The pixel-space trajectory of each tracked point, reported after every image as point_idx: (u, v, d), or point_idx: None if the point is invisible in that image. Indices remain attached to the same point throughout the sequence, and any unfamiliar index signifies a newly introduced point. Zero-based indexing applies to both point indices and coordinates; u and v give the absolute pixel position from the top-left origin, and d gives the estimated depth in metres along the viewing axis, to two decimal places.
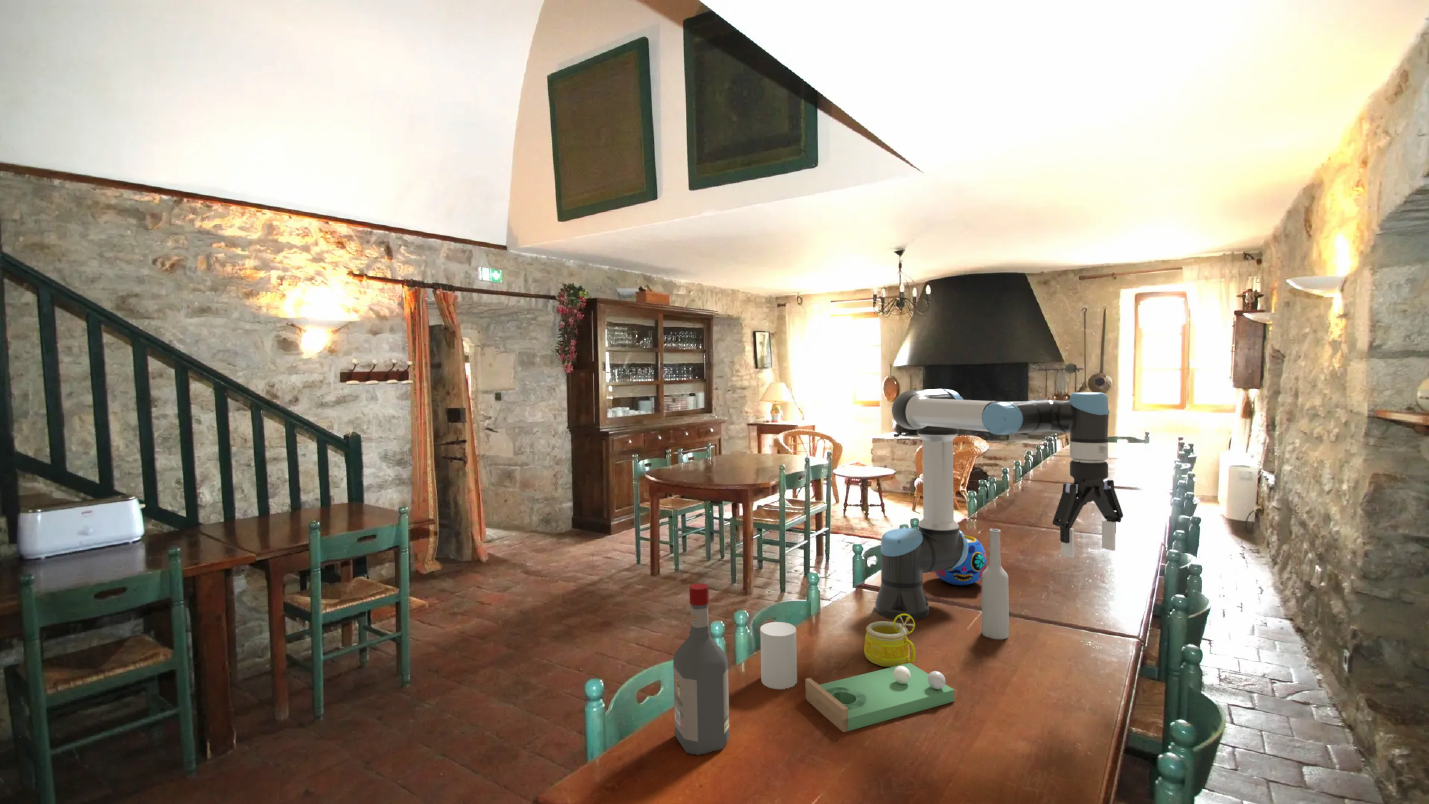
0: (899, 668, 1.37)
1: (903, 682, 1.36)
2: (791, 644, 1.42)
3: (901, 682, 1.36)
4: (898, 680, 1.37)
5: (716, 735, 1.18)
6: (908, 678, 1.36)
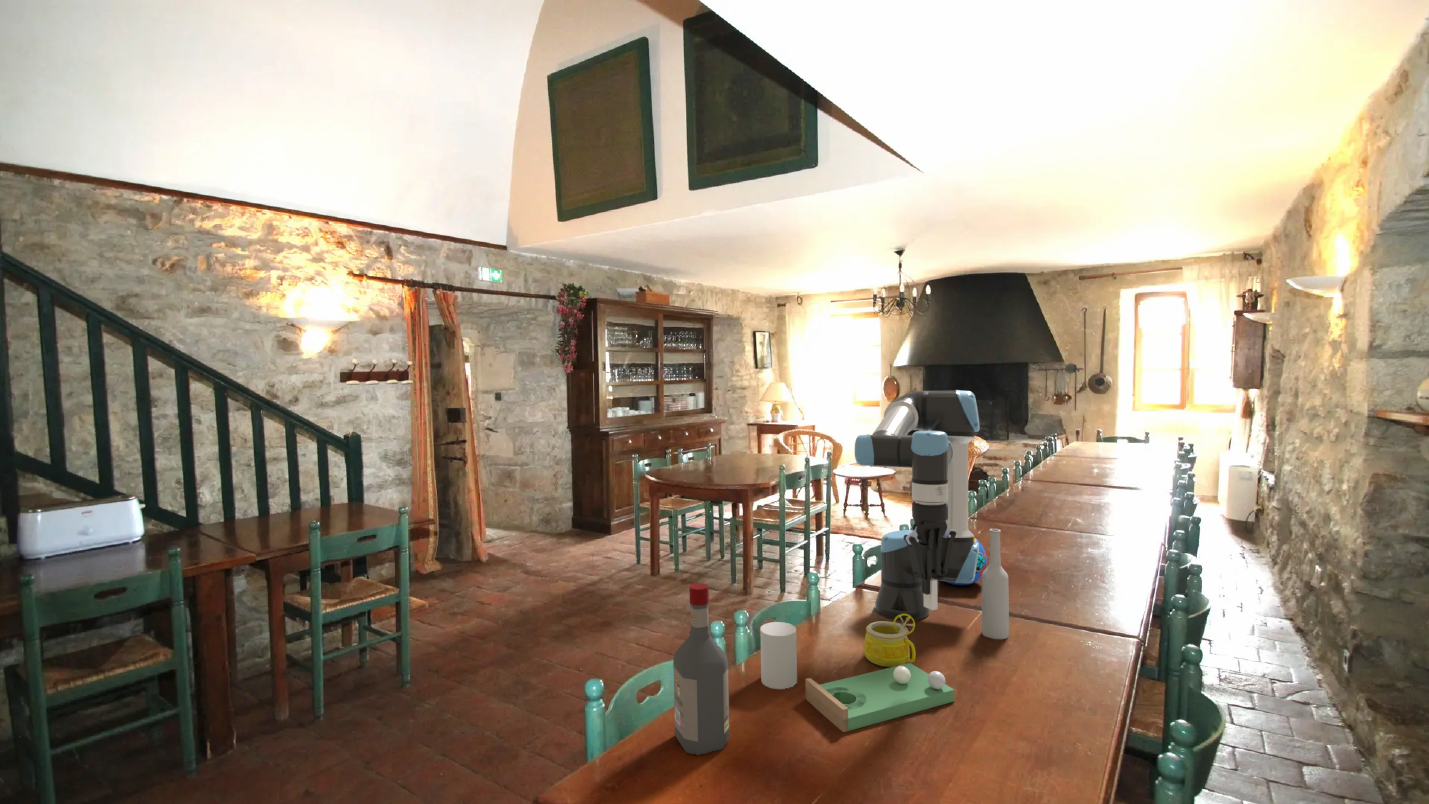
0: (899, 668, 1.37)
1: (903, 682, 1.36)
2: (791, 644, 1.42)
3: (901, 682, 1.36)
4: (898, 680, 1.37)
5: (716, 735, 1.18)
6: (908, 678, 1.36)
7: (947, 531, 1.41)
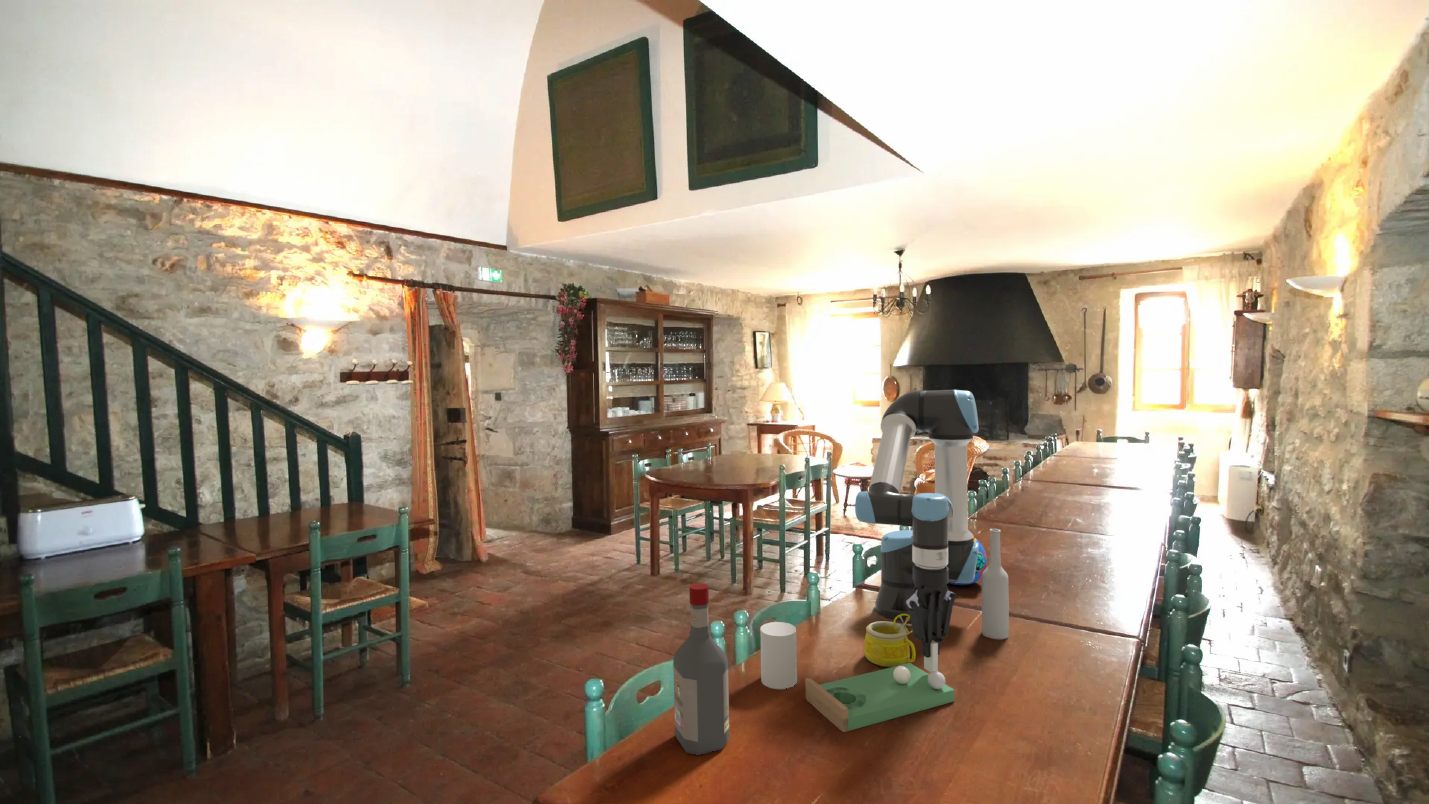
0: (899, 668, 1.37)
1: (903, 682, 1.36)
2: (791, 644, 1.42)
3: (901, 682, 1.36)
4: (898, 680, 1.37)
5: (716, 735, 1.18)
6: (908, 678, 1.36)
7: (947, 593, 1.42)
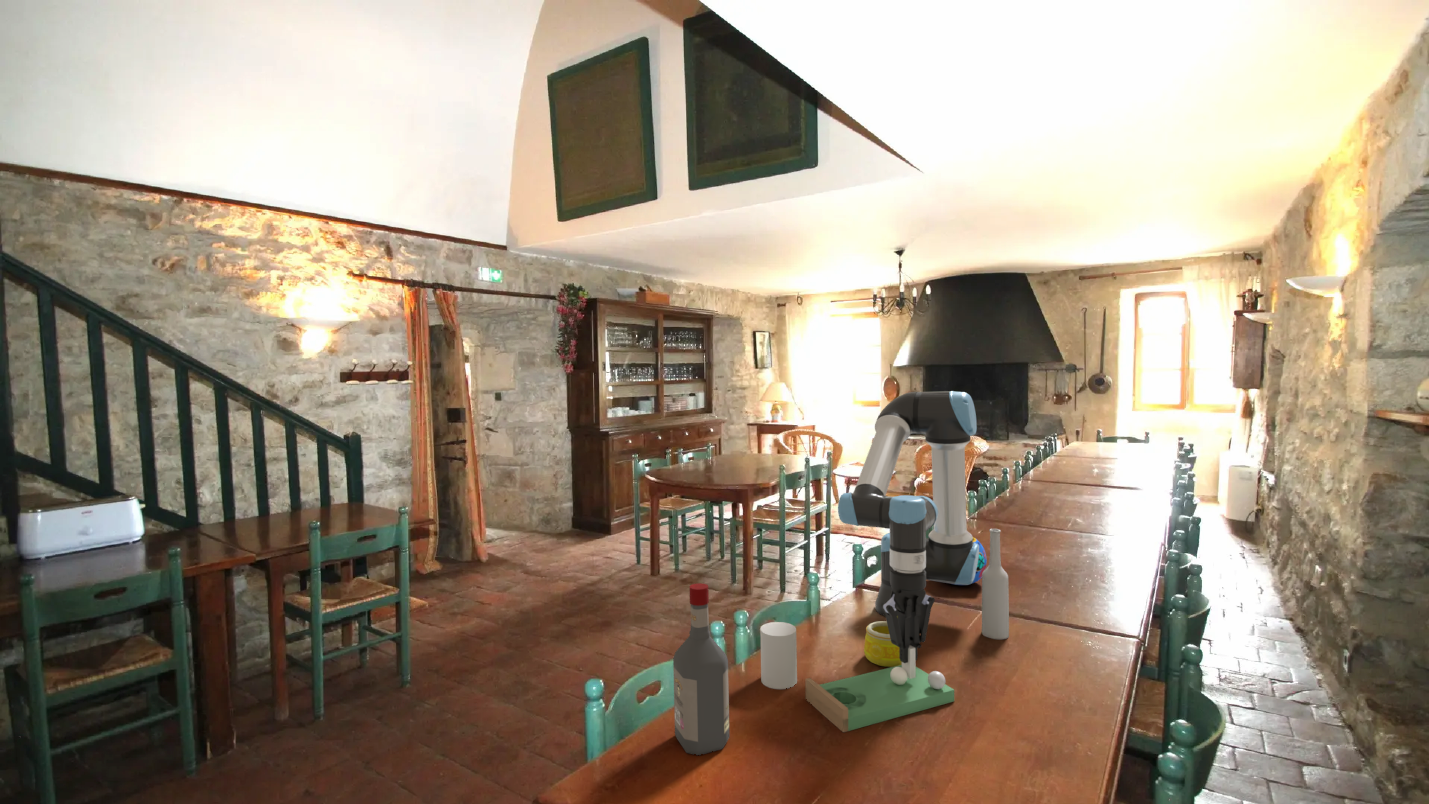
0: (894, 671, 1.37)
1: (902, 683, 1.36)
2: (791, 644, 1.42)
3: (900, 684, 1.36)
4: (896, 683, 1.36)
5: (716, 735, 1.18)
6: (905, 678, 1.36)
7: (925, 597, 1.39)
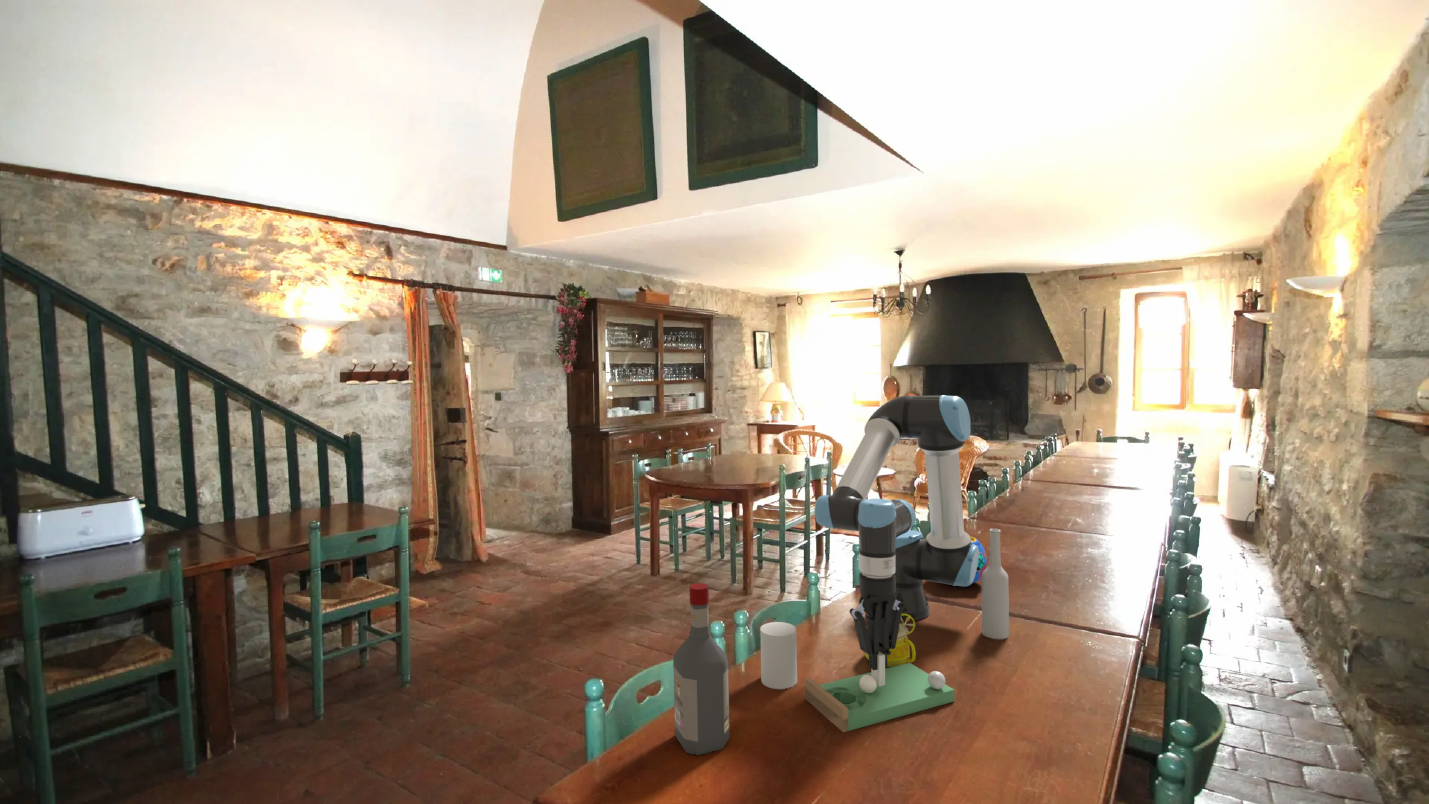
0: (873, 677, 1.34)
1: (867, 685, 1.32)
2: (791, 644, 1.42)
3: (866, 684, 1.33)
4: (866, 680, 1.33)
5: (716, 735, 1.18)
6: (873, 688, 1.32)
7: (896, 603, 1.36)
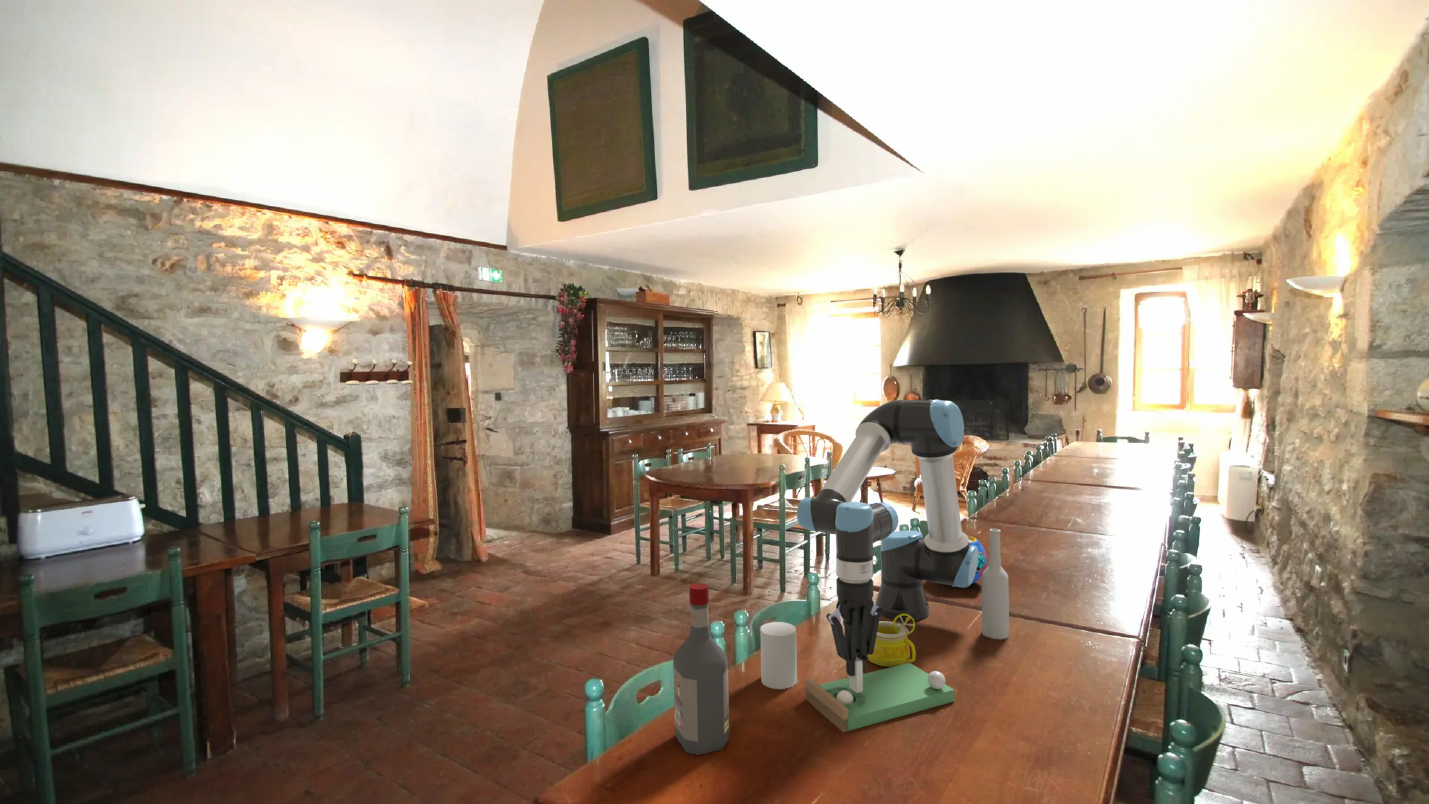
0: None
1: (853, 698, 1.32)
2: (791, 644, 1.42)
3: None
4: None
5: (716, 735, 1.18)
6: (850, 696, 1.32)
7: (874, 608, 1.34)
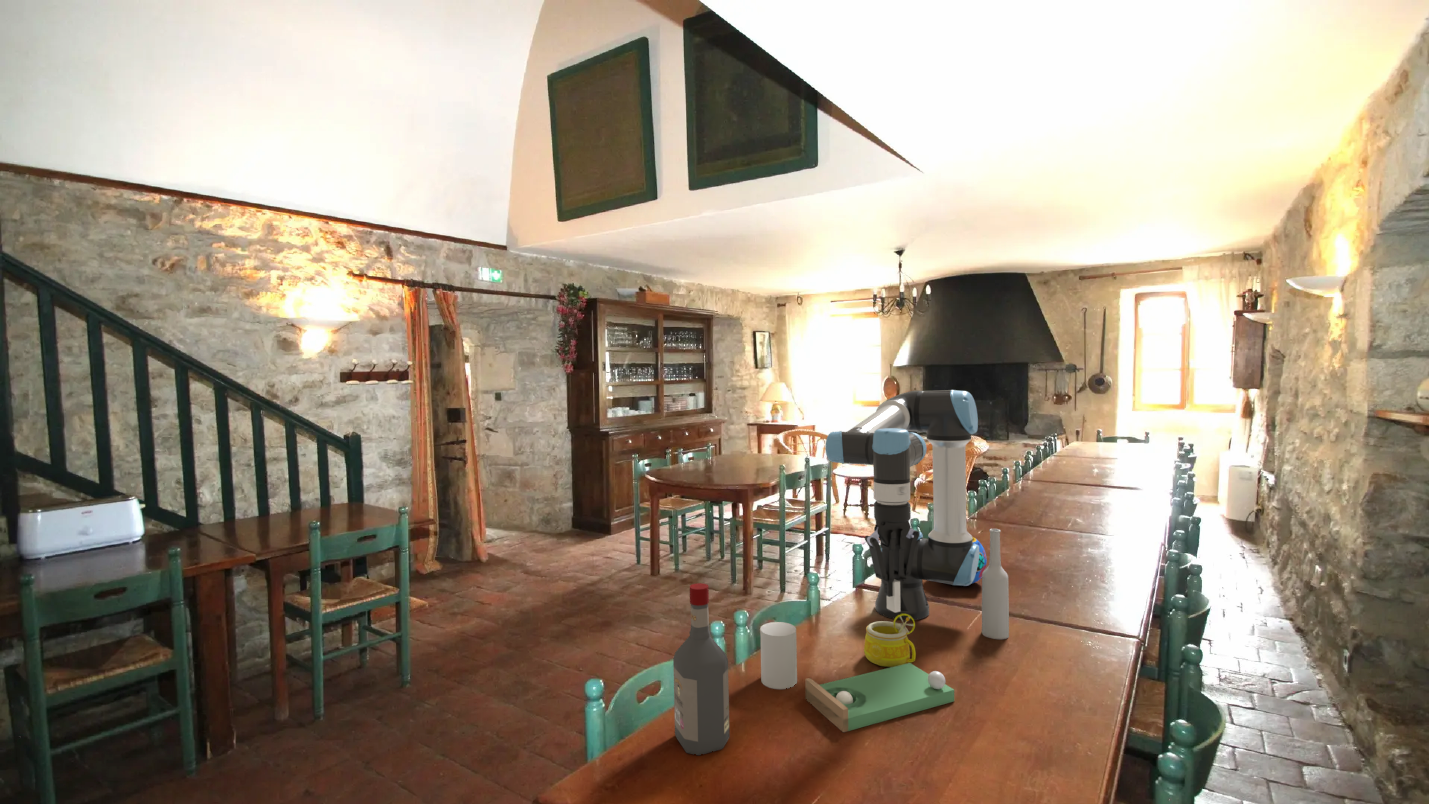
0: None
1: (852, 698, 1.32)
2: (791, 644, 1.42)
3: (852, 699, 1.32)
4: None
5: (716, 735, 1.18)
6: (849, 697, 1.31)
7: (910, 531, 1.37)
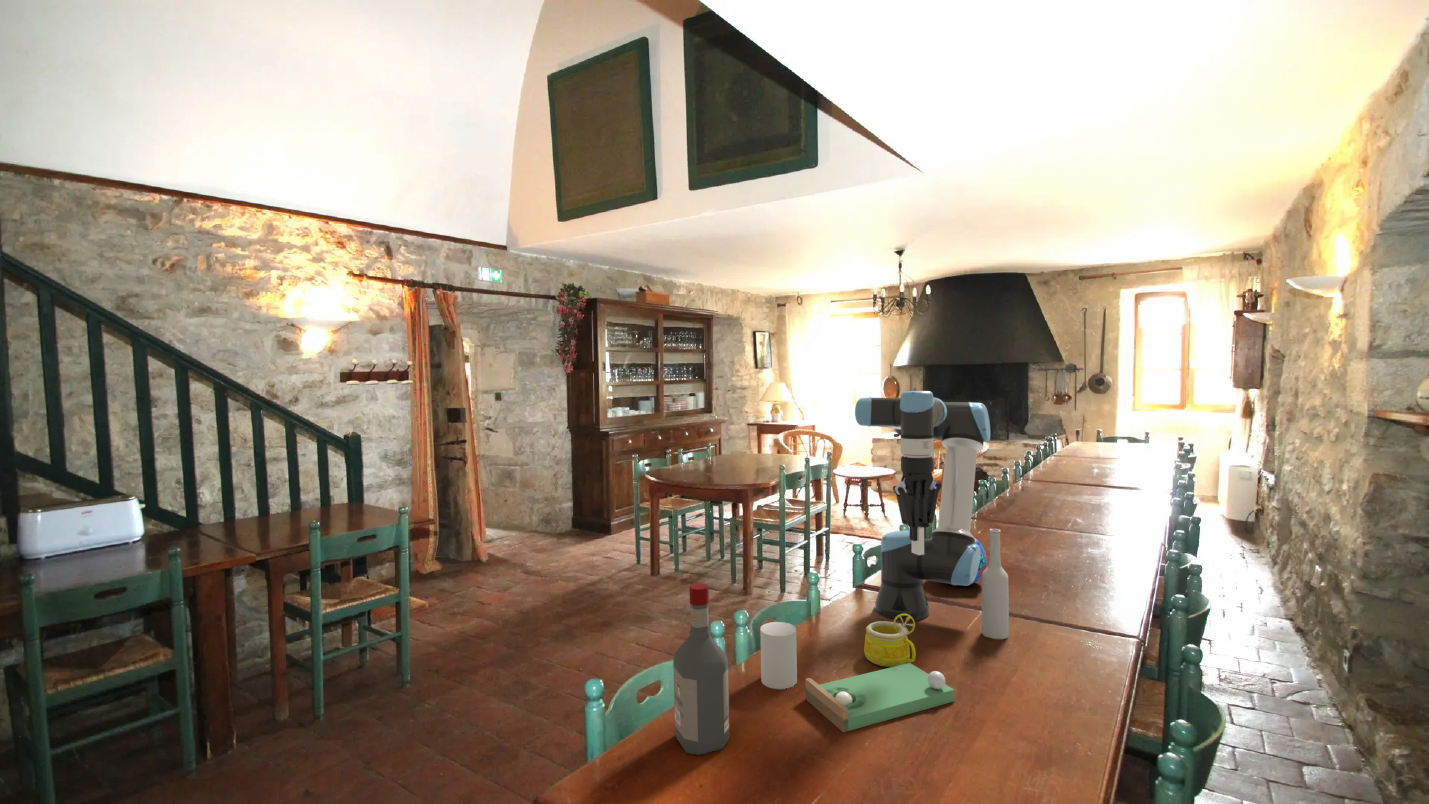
0: None
1: (851, 698, 1.32)
2: (791, 644, 1.42)
3: None
4: None
5: (716, 735, 1.18)
6: (848, 698, 1.31)
7: (933, 483, 1.53)
